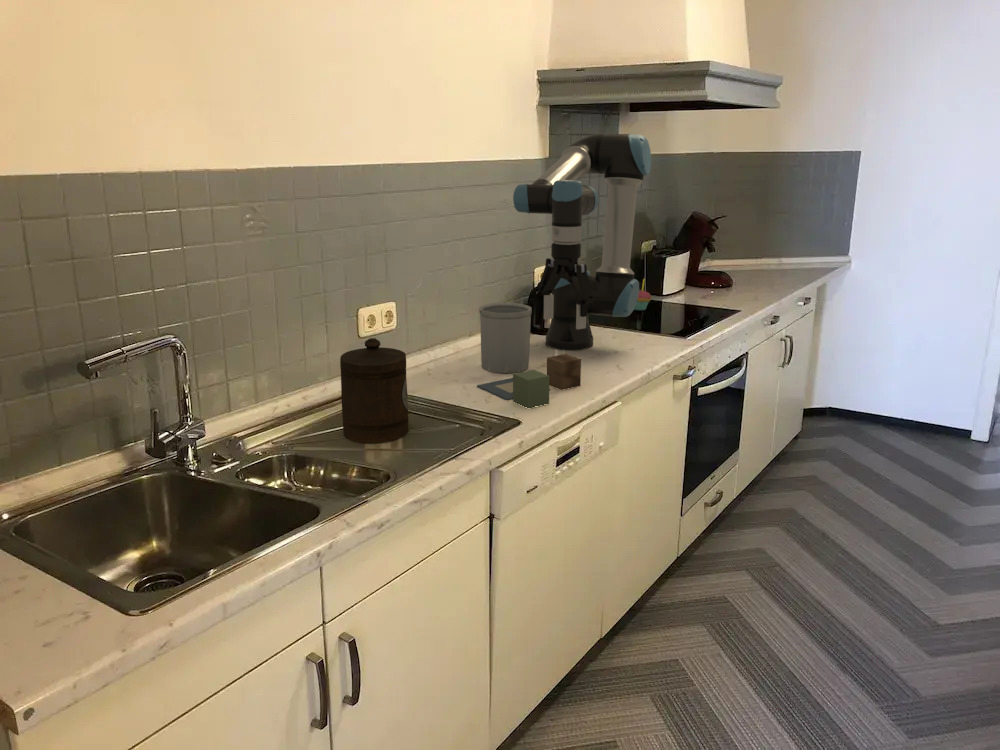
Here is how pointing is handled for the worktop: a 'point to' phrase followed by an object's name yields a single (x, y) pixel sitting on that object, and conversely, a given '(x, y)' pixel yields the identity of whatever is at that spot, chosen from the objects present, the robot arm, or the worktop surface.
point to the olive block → (531, 388)
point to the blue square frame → (500, 388)
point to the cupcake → (642, 299)
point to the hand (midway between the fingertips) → (564, 323)
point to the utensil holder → (505, 337)
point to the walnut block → (564, 371)
